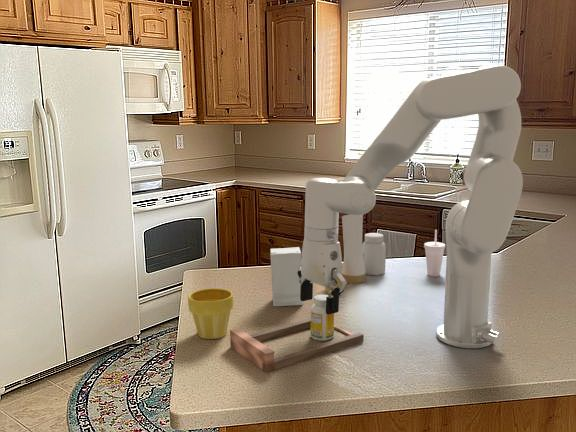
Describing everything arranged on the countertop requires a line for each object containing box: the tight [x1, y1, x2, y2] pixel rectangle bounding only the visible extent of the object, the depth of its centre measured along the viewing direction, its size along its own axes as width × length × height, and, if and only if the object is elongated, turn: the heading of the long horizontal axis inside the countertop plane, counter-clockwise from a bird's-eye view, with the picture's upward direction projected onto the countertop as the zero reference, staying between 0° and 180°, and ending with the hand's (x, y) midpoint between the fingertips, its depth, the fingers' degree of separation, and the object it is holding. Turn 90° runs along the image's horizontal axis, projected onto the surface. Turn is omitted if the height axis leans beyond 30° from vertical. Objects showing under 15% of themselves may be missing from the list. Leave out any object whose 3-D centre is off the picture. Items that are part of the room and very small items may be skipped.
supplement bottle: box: [310, 294, 335, 342], centre depth 132 cm, size 5×5×10 cm
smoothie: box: [423, 229, 446, 277], centre depth 177 cm, size 6×6×14 cm
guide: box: [229, 317, 365, 373], centre depth 129 cm, size 15×26×4 cm, turn 124°
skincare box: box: [269, 246, 304, 307], centre depth 154 cm, size 8×6×15 cm
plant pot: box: [187, 287, 234, 340], centre depth 135 cm, size 10×10×10 cm
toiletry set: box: [328, 214, 387, 290], centre depth 173 cm, size 25×8×21 cm, turn 136°
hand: (318, 306), depth 132 cm, fingers open, 9 cm apart
